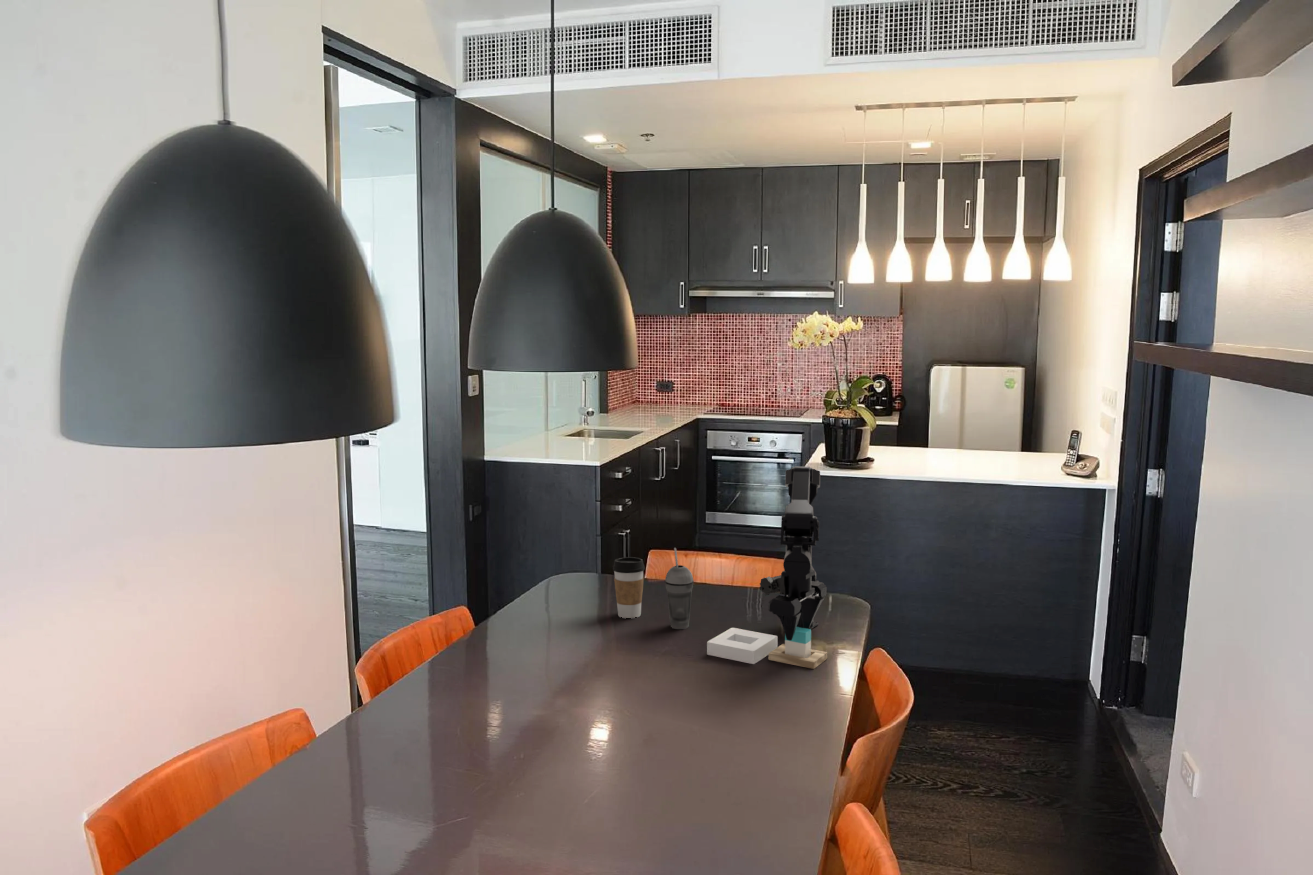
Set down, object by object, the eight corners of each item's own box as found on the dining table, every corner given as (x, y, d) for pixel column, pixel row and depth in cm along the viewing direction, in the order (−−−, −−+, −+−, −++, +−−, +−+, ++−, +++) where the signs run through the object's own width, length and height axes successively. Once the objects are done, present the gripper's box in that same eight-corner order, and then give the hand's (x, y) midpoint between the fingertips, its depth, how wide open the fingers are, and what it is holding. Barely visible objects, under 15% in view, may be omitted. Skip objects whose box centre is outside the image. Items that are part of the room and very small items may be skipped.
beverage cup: (682, 632, 230) (682, 553, 228) (659, 627, 235) (658, 549, 232) (699, 625, 236) (699, 547, 234) (676, 619, 240) (675, 543, 238)
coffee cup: (608, 618, 242) (607, 561, 240) (619, 609, 250) (618, 554, 248) (639, 621, 240) (639, 564, 238) (649, 611, 248) (648, 556, 246)
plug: (790, 655, 214) (790, 625, 213) (810, 659, 211) (811, 629, 210) (784, 659, 212) (785, 629, 211) (805, 663, 209) (805, 633, 208)
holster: (782, 649, 217) (782, 643, 217) (827, 658, 212) (827, 652, 211) (768, 659, 211) (768, 653, 211) (813, 668, 205) (813, 662, 205)
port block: (732, 639, 225) (732, 627, 225) (777, 648, 219) (777, 635, 218) (707, 654, 215) (707, 641, 215) (753, 664, 209) (753, 651, 208)
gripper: (783, 553, 221) (783, 617, 223) (747, 571, 206) (746, 639, 207) (828, 559, 215) (827, 625, 217) (793, 578, 200) (793, 648, 201)
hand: (798, 634), depth 211 cm, fingers open, 9 cm apart
